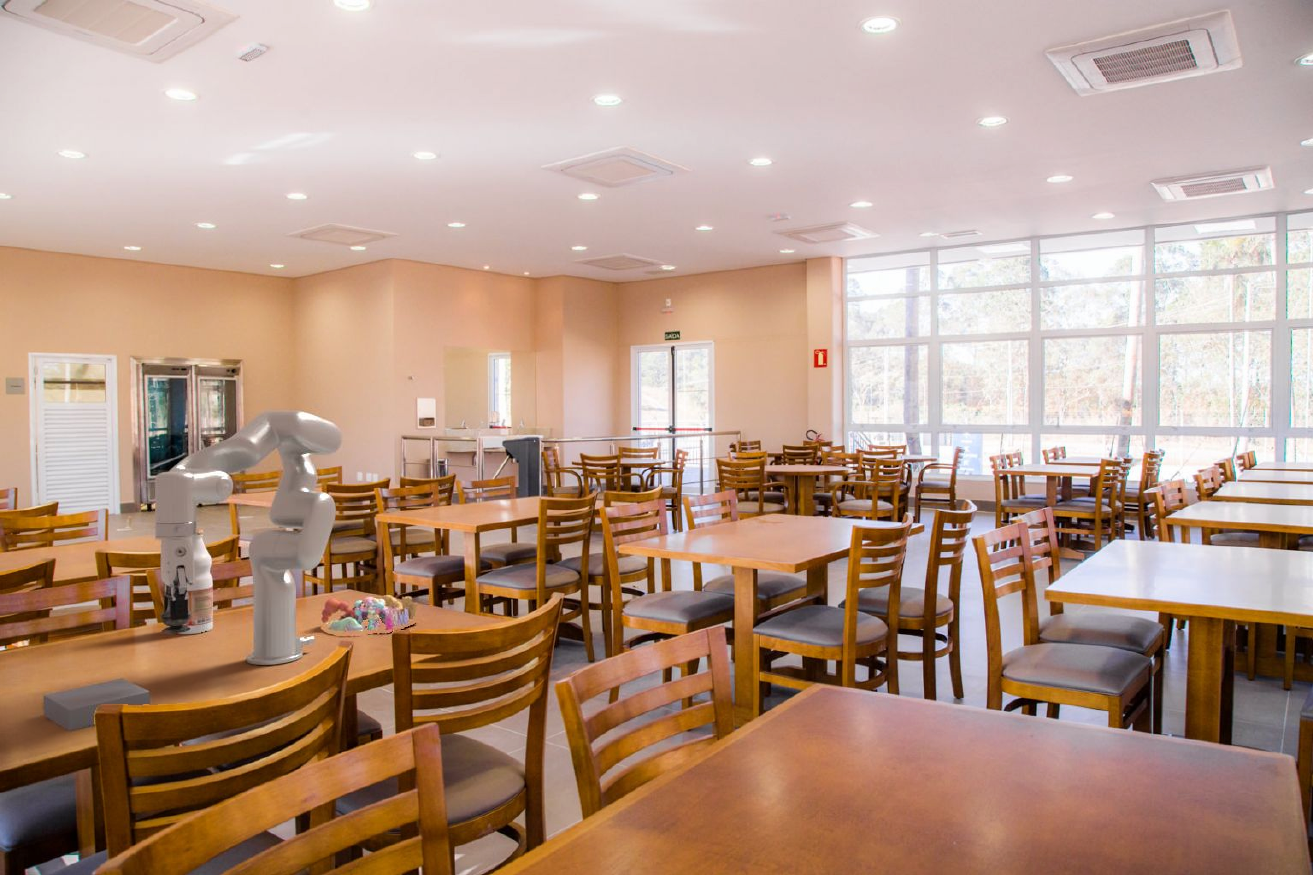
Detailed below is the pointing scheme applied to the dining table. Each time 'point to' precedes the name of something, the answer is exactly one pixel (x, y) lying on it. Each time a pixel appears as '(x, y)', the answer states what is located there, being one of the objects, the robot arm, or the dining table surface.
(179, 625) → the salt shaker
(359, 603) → the candy landscape model
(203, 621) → the fruit juice
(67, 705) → the stand
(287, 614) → the robot arm
